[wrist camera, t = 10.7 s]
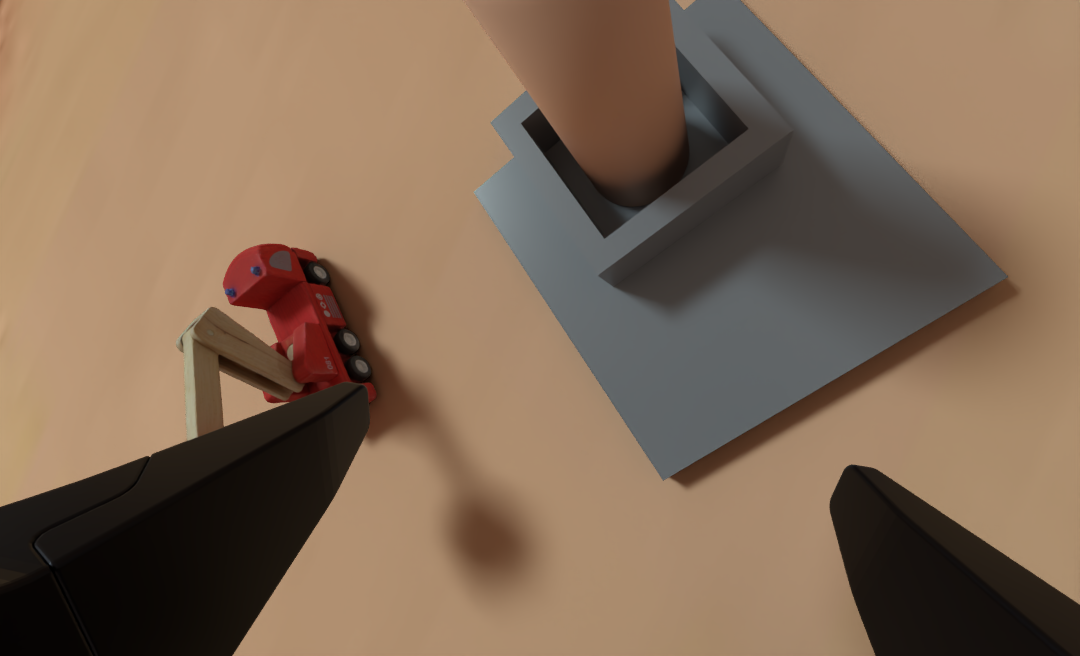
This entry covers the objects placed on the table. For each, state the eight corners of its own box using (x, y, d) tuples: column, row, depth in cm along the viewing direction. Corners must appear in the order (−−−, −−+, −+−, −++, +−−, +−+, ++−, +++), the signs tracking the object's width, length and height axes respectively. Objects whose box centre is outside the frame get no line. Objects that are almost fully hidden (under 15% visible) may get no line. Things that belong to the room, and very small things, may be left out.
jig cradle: (992, 281, 17) (1068, 259, 14) (665, 475, 21) (654, 500, 17) (718, -6, 21) (719, -84, 18) (482, 197, 25) (440, 167, 21)
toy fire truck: (318, 246, 28) (132, 192, 19) (413, 458, 25) (243, 513, 16) (280, 276, 29) (85, 239, 20) (367, 486, 26) (182, 552, 17)
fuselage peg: (705, 120, 20) (686, -215, 8) (665, 219, 20) (592, 25, 9) (610, 99, 22) (482, -210, 10) (574, 191, 22) (409, -5, 10)
